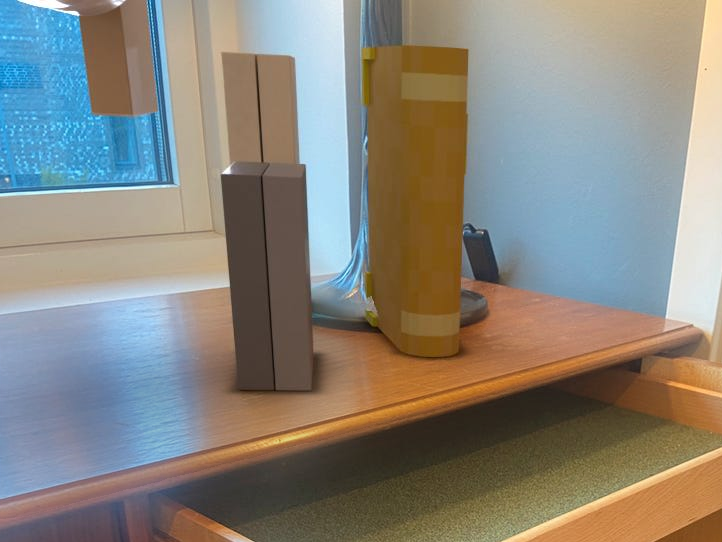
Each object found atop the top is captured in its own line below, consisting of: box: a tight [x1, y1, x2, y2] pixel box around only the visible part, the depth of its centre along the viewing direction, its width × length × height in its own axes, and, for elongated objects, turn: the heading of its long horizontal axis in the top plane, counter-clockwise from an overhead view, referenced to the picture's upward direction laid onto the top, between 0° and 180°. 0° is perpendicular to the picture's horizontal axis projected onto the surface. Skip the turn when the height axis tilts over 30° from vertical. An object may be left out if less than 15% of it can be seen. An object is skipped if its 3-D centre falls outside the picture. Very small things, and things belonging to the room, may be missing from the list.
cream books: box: [220, 51, 301, 166], centre depth 100 cm, size 6×14×24 cm, turn 8°
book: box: [360, 44, 470, 358], centre depth 91 cm, size 17×7×25 cm, turn 17°
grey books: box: [220, 161, 315, 392], centre depth 80 cm, size 6×12×16 cm, turn 8°
